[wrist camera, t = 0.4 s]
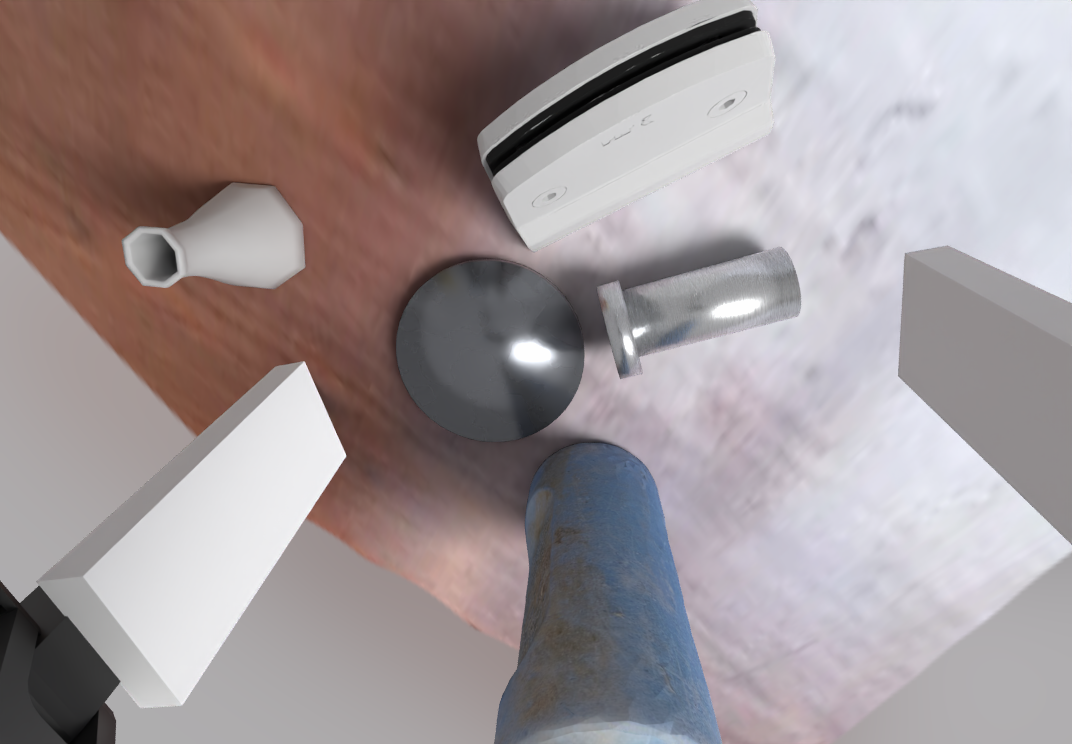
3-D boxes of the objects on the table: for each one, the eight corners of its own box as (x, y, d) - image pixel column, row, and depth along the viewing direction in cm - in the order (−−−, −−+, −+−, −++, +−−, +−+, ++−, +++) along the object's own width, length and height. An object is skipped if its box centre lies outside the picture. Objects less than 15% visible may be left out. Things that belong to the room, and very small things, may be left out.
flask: (186, 196, 38) (57, 204, 29) (284, 168, 37) (183, 166, 28) (230, 300, 40) (123, 338, 31) (323, 276, 39) (242, 309, 30)
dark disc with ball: (372, 288, 39) (337, 308, 34) (758, 174, 35) (792, 174, 29) (436, 453, 43) (415, 495, 37) (790, 367, 39) (826, 401, 33)
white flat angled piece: (528, 255, 38) (480, 219, 28) (500, 191, 38) (443, 133, 28) (776, 131, 34) (820, 40, 24) (742, 61, 35) (773, -56, 25)
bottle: (552, 422, 42) (492, 949, 13) (679, 463, 42) (883, 1064, 14) (513, 527, 45) (399, 1132, 17) (632, 565, 45) (718, 1221, 17)
